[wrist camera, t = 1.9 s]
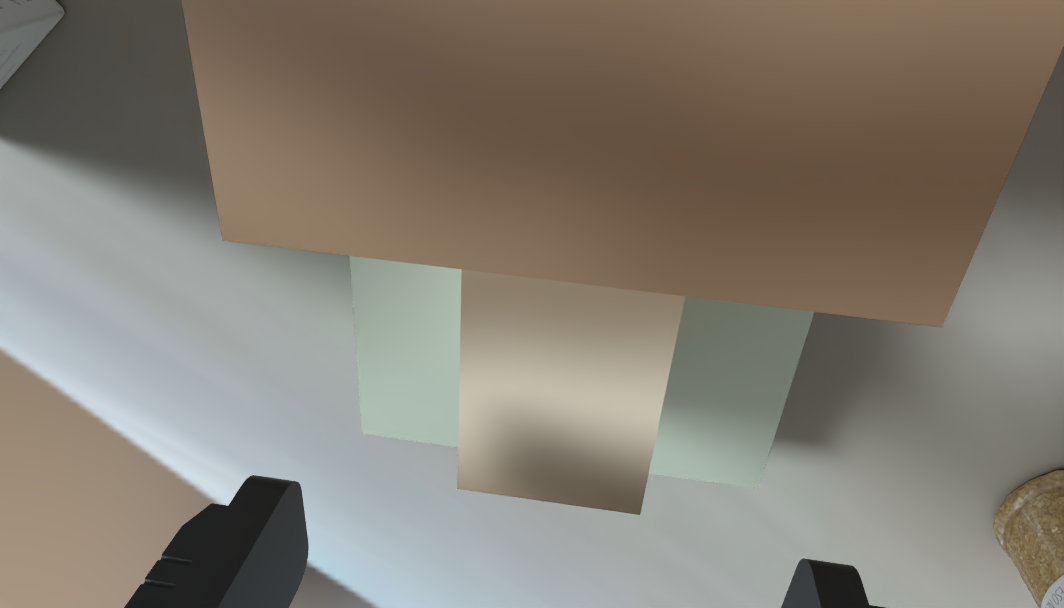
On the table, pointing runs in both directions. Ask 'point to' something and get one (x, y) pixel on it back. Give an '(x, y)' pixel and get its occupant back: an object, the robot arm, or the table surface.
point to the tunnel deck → (622, 173)
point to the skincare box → (24, 30)
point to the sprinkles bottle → (1036, 536)
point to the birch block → (561, 388)
